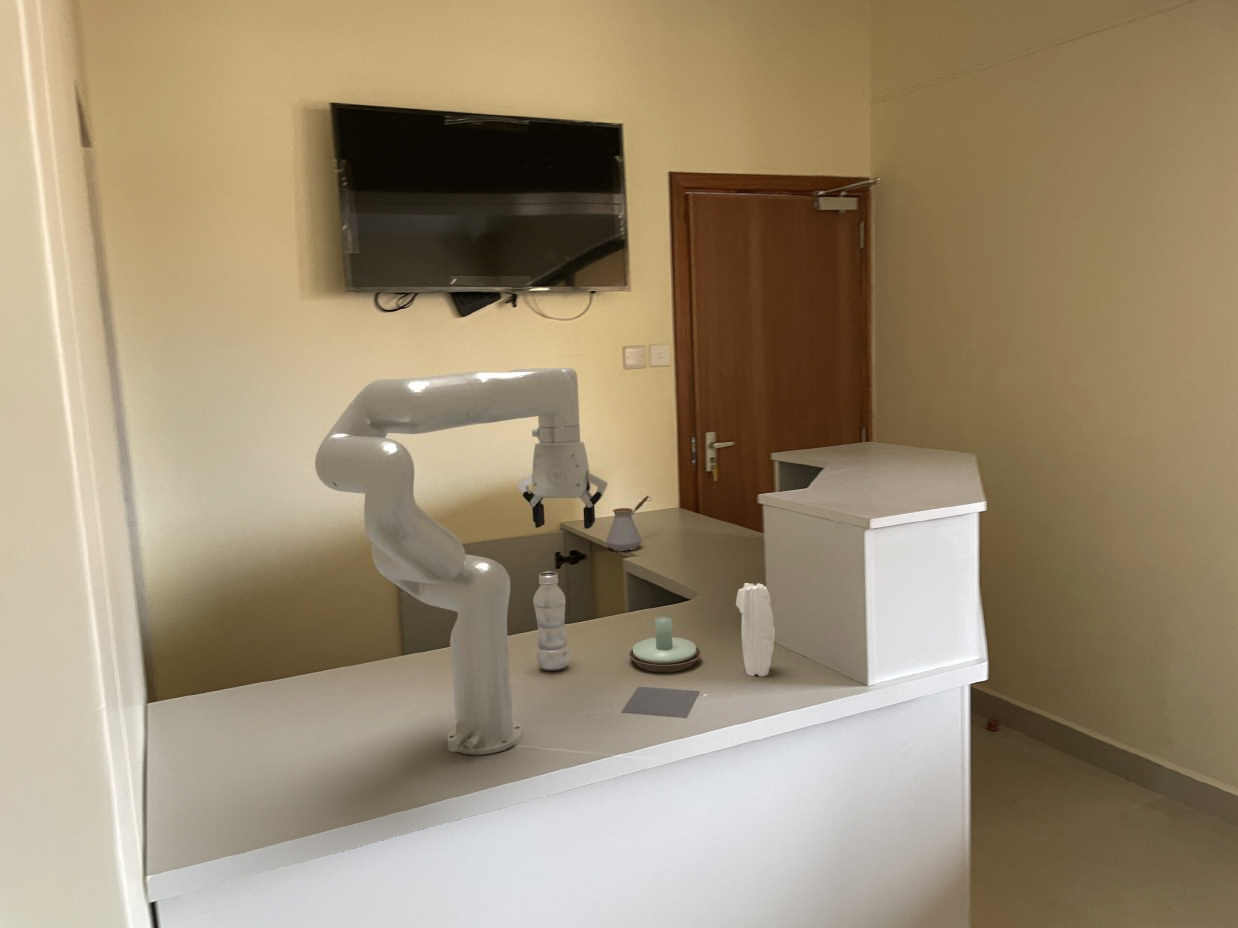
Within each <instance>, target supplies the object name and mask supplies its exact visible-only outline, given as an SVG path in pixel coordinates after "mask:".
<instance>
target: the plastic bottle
mask: <svg viewBox="0 0 1238 928" xmlns="http://www.w3.org/2000/svg"><path fill="white" fill-rule="evenodd" d="M538 579H539V580H538V584H539V587H538V589H537V590H536V591H535V593H534V595H533V608H534V612H535V615H536V616H535V617H536V624H537V625H536V626H537V630H538V631H537V633H538V634H537V649H536V660H537V665H538V666H539V667H540V668H541V670H545V671H559V670H562V669H565V668H567V666H568V664H569V660H570V651H569V648H568V645H567V639H566V632H565V631H566V630H565V613H566V612H565V611H566V596H565V594H564V592H563V591H562V588H561V587H560V586H558V583H559V579H558V572H556V571H545V572H540V573H539V574H538Z"/></svg>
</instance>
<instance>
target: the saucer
mask: <svg viewBox="0 0 1238 928" xmlns="http://www.w3.org/2000/svg"><path fill="white" fill-rule="evenodd" d="M701 654H702V650H701V649H700V648H699V647H698V646H696V654H695V655H694V656H693V657H692V658H690V659H688V660H687V661H684V662H679V663H672V664H655V663H648V662H643V661H640V660H639V659H637V658H635V657H634V655H633V648H632V649H631V650H629V654H628V655H629V657H630V659H631V660H632V662H633V663H635V664H636V666H637V667H639V668H641V669H642V670H645V671H649V672H655V673H673V672H674V673H675V672H679V671H684V670H686V669H688V668H690V667H692V666H693V665H694V664H695V663H696V662H697V661H698V660H699V658H700V656H701Z"/></svg>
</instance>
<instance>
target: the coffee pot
mask: <svg viewBox="0 0 1238 928" xmlns="http://www.w3.org/2000/svg"><path fill="white" fill-rule="evenodd" d="M649 498H650V500H648V499H649ZM651 501H652V498H651V496H649V495H646V496H645V497H644V498H642V500H641V501H640V502H638V504H636V506H635V508H634V509H633V508H628V507H619V508H615V509H613V510H612V512H613V513H614V516H615V517H614V519H613V521H612V524H611V527H610V530H609V532H608V535H607V536H606V544H607V546H608V547H609V548H610V549H611V550H612V551H614V552H621V553H622V550H631V549H634V548H636V549H637V548H638V547H639V546H640V545H641V543H642V537H641V535H640V533H639V531H638V528H637V526H636V524H635V521H634V520H633V518H632V516H633V515H634V514H635V513H636V512H637V511H638V510H639V509H640V508H641V507H642V506H643V505H644V503H645V502H651Z"/></svg>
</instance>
